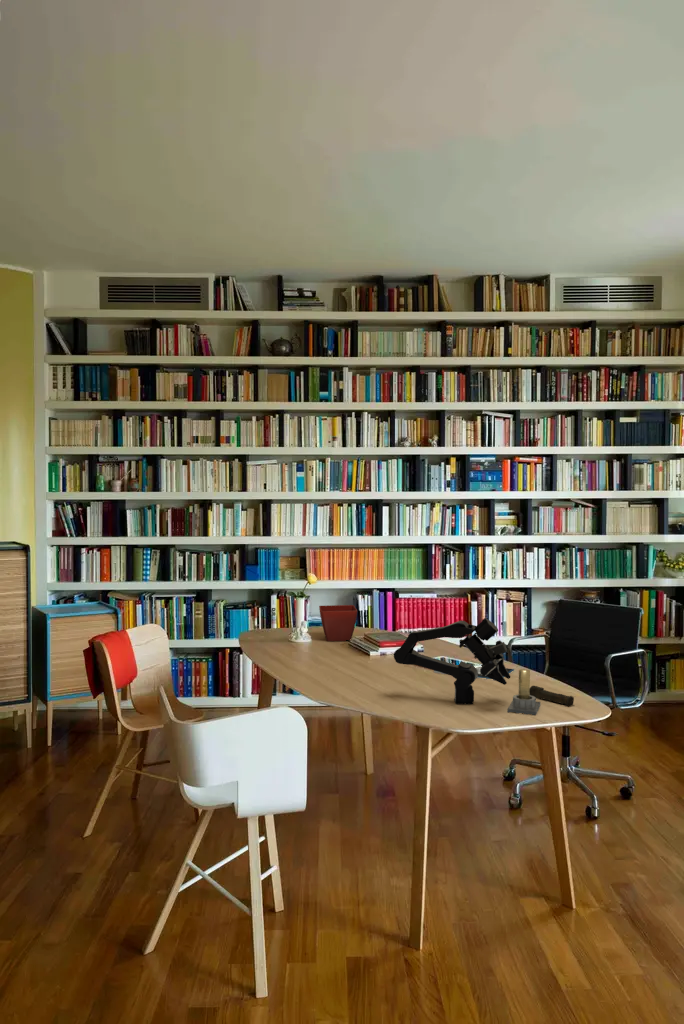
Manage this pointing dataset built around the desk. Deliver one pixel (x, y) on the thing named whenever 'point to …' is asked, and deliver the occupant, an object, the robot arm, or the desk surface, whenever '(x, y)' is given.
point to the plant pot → (338, 621)
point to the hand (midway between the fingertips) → (507, 681)
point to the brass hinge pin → (524, 684)
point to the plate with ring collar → (524, 705)
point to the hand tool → (551, 696)
